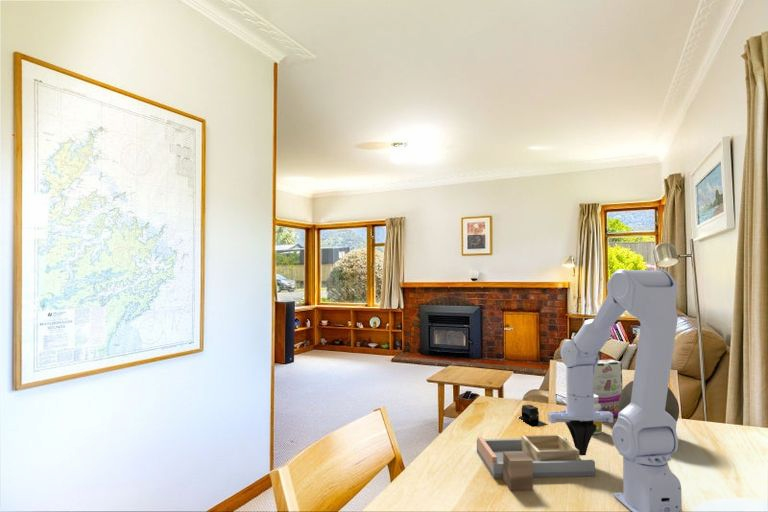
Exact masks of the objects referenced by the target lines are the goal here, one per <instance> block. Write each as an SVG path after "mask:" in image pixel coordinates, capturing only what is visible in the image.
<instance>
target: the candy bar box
mask: <svg viewBox="0 0 768 512" xmlns="http://www.w3.org/2000/svg"><path fill="white" fill-rule="evenodd" d="M622 364H623V362H622V361H619V360H616V359H611V358H610V359H599V362H598V364H597V366H596V372H595V374H594V375H593V383H594V394H595V395H598V397H599V401H598V403H599V404H600V405H601V408H602V411H609V412H610V413H612V414H613V419H614V418H618V413H619V412H620V411H619V397H620V394H621V392H622V390H623V365H622Z"/></svg>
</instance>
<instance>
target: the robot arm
mask: <svg viewBox="0 0 768 512" xmlns="http://www.w3.org/2000/svg"><path fill="white" fill-rule="evenodd" d="M679 287H680V286H679V283H678V282H677V281H676V280H675V279H674V277H673V276H672V275H671V274H670V272H668V271H667V270H665V269H654V270H653V269H640V270H638V269H635V270H632V269H628V270H627V269H617V270H615V271H614V272H613V273H612V275H611V277H610V279H609V280H608V281H607V282H606V289H607V295H606V297H605V298H604V300H603V302H602V304H601V305H600V308H599V309H598V311H597V312H596V315H595V317H594V318H589V319H585V320H584V321H583V323H582V325H581V327H580V329H579V330H578V332H577V333H576V335H575V336H574V338H573V339H569V340H566V341H565V340H564V341H563V343H562V345H561V346H560V347H561V348H560V357H561V361H562V363H563V364H564V366H565V367H566V370H565V371H566V372H565V373H566V376H565V377H566V378H565V379H566V409H564V410H557V411H548V412H547V422H549V423H550V424H556V423H565V425H566V427H567V429H568V430H569V433H570V436H571V438H572V441H573V444H574V445H573V446H574V447H575V448H577V449H578V450H579V456H587V451H588V447H589V444H590V441H591V438H592V437H593V435H595V434H594V432H595V431H596V425H595V424H594V422H602V423H603V422H608V423H614V418H613V414H612V413H610V412H609V411H594V383H593V375H594V374H595V372H596V366H597V364H598V362H599V360H600V355H599V352H600V351H601V349H602V348H603V347H604V346H605V345H606V343H607V342H608V341H609V339H610V338H611V336H612V332H611V329H610V328H611V327H612V326H613V325H614V324H615V323H616V321H618V320H619V318H620V317H621V316H622V315H623V314H624V313H625V312H627V313H628V314H629V315H630V316H632V317H635V318H636V320H637V321H638V322H639V323H640V327H639V335H638V342H637V350H636V358H635V366H634V373H633V380H632V381H633V388H632V396H631V403H630V404H629V405H628V406H626V407H625V408H624V409H623V410H621V411H620V412H619V413H618V417H617V420H616V422H615V423H614V425H613V426H612V430H611V439H612V443H613V445H614V447H615V449H616V450H617V451H618V454H619V455H620V456H622V466H623V467H622V471H623V472H622V475H623V476H622V477H623V478H622V480H623V481H622V483H623V487H622V488H623V490H622V491H623V492H621V491H619V492H613V497H615V499H617V500H618V501H619V502H620V503H621V504H623V505H624V506H625V507H626V508H627V509H628V510H629V511H631V512H683V508H682V507H683V506H682V505H683V504H682V503H683V501H682V485H681V481H680V479H679V478H678V477H677V475H676V474H674V473H673V471H672V470H671V469H670V467H669V463H668V462H671V461H672V455H673V454H675V453H676V452H677V450H678V447H679V438H678V434H677V424H678V421H677V422H676V420H675V419H674V418H673V417H672V416H671V415H670V414H669V413H667V412H666V411H665V406H666V399H667V392H668V387H669V383H670V377H671V369H672V361H673V356H674V348H675V341H676V334H677V327H678V313H677V312H678V311H677V307H676V306H677V299H678V292H679Z"/></svg>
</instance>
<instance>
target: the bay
mask: <svg viewBox="0 0 768 512" xmlns="http://www.w3.org/2000/svg"><path fill="white" fill-rule="evenodd" d="M563 438H564V439H566V440H567V441H568V438H566V437H563ZM511 451H522V437H520V438H484V437H483V436H477V438H476V453H477V455H478V456H479V458H480V459H481V461H482V462H483V464H484V465H485V467H486V469H487V470H488V472H489V473H490V474H491V476H492V478H493V479H503V452H511ZM595 476H596V461H595V460H594V459H581V458H580V460H556V461H533V478H560V477H561V478H563V477H564V478H565V477H567V478H568V477H570V478H571V477H595Z"/></svg>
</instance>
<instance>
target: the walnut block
mask: <svg viewBox="0 0 768 512" xmlns="http://www.w3.org/2000/svg"><path fill="white" fill-rule="evenodd" d="M502 479H503V480H502V481H503V482H504V483H505V485H506V487H507V488H508V489H509V491H510V492H533V490H534V482H533V481H534V477H533V460H532V459H531V458H530V457H529V456H528V455H527V454H526V453H525V452H524V451H511V452H503V478H502Z"/></svg>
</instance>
